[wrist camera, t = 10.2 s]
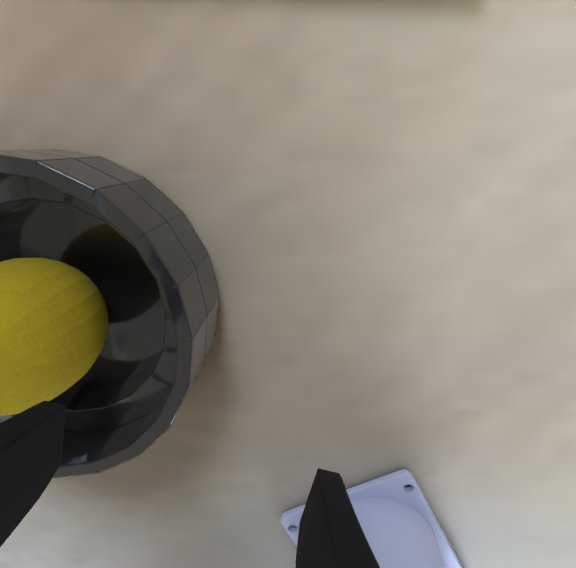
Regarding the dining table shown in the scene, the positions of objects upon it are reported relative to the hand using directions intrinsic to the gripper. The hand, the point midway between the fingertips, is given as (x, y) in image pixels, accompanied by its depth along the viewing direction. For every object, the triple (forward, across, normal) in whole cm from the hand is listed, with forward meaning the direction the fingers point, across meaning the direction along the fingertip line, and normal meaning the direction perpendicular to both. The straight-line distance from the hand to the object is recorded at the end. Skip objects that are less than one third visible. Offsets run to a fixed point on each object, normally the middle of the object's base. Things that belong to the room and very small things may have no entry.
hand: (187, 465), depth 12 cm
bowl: (+9, +8, 0) cm, 12 cm away
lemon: (+9, +8, 0) cm, 12 cm away
